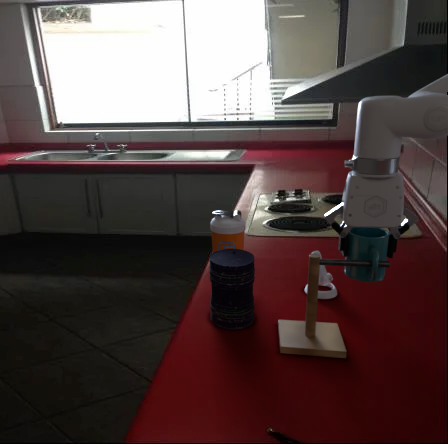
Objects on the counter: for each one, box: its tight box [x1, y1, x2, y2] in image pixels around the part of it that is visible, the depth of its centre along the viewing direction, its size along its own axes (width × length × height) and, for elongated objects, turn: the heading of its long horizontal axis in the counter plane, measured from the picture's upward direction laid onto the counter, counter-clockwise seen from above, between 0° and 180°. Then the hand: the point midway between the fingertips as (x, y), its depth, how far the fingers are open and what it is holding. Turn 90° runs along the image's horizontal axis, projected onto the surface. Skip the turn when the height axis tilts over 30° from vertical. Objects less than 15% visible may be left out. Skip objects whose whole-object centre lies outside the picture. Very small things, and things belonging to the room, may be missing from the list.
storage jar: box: [208, 249, 256, 330], centre depth 93 cm, size 10×10×15 cm
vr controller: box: [304, 250, 338, 300], centre depth 105 cm, size 8×12×7 cm
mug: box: [343, 227, 390, 283], centre depth 80 cm, size 11×7×9 cm
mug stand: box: [277, 253, 391, 359], centre depth 81 cm, size 19×10×19 cm, turn 78°
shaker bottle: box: [209, 209, 247, 253], centre depth 108 cm, size 9×9×20 cm
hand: (366, 254), depth 82 cm, fingers closed on mug, 7 cm apart
